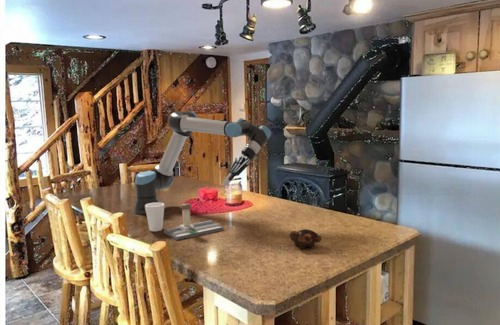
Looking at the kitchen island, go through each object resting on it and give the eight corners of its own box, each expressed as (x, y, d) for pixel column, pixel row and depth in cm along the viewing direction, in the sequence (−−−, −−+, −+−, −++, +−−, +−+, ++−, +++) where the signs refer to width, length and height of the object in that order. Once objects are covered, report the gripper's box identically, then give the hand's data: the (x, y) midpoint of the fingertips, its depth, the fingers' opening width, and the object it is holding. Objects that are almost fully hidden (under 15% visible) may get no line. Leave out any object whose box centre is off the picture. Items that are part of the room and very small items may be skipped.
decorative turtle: (284, 246, 180) (285, 228, 180) (313, 243, 186) (314, 226, 186) (295, 252, 171) (296, 233, 171) (325, 249, 178) (326, 230, 177)
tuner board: (164, 233, 202) (163, 227, 201) (210, 223, 217) (209, 218, 216) (176, 240, 190) (175, 234, 190) (223, 229, 205) (223, 224, 205)
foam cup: (146, 233, 202) (145, 207, 200) (146, 227, 211) (144, 203, 209) (166, 231, 205) (164, 206, 203) (164, 226, 213) (163, 201, 212)
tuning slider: (179, 229, 202) (178, 204, 200) (188, 227, 205) (187, 202, 203) (189, 234, 193) (188, 208, 191) (199, 232, 196) (198, 206, 194)
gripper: (239, 144, 222) (213, 178, 216) (253, 146, 212) (226, 181, 205) (248, 153, 226) (222, 186, 219) (261, 156, 216) (235, 190, 209)
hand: (224, 184), depth 212 cm, fingers closed
